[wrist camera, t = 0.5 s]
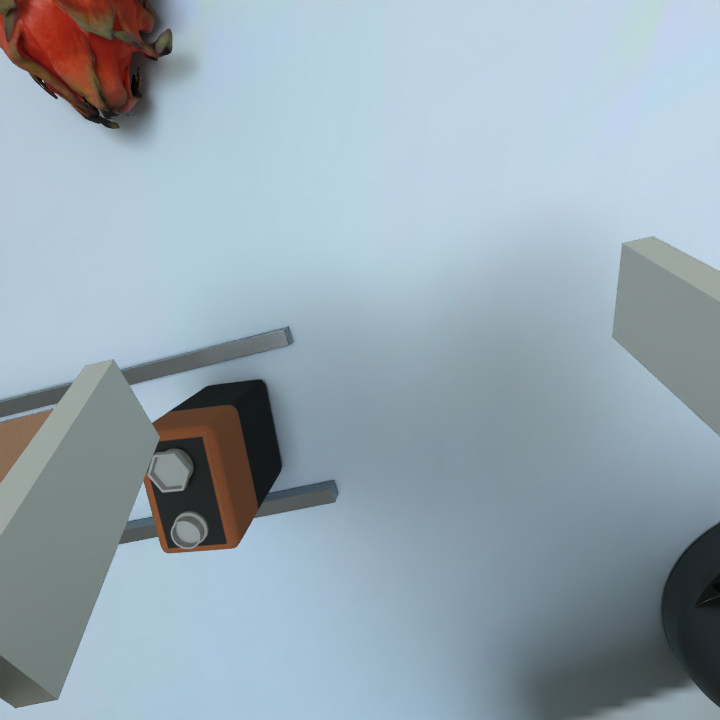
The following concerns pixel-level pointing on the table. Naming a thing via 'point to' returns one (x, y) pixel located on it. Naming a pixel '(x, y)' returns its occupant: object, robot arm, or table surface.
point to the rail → (12, 437)
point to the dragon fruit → (82, 49)
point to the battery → (212, 467)
